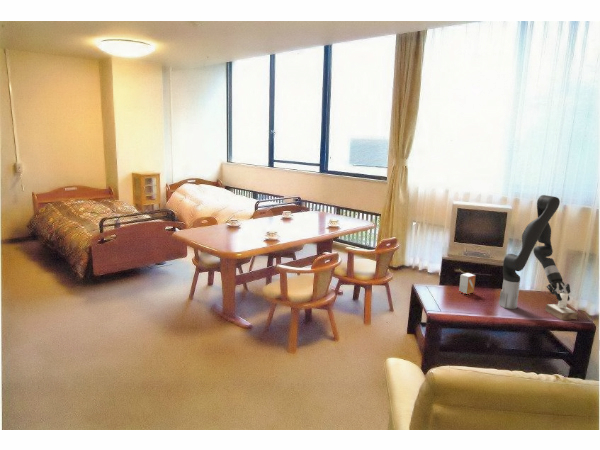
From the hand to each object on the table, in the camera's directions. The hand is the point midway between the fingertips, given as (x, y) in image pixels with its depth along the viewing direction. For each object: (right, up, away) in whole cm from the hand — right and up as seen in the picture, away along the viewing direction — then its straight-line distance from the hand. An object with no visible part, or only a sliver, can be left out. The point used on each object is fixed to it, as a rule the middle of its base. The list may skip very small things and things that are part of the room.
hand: (564, 300), depth 254 cm
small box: (-44, -2, +38) cm, 58 cm away
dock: (0, -9, +3) cm, 10 cm away
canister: (0, -4, +2) cm, 4 cm away
